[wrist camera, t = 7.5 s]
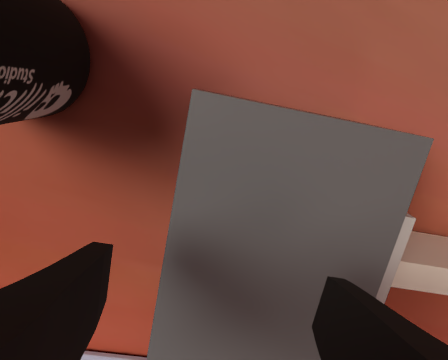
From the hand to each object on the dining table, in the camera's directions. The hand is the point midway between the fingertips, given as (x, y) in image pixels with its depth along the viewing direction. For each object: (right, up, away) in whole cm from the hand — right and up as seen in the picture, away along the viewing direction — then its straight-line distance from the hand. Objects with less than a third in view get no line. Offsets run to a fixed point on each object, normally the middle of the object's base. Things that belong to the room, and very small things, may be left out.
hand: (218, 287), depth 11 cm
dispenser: (+2, +1, +11) cm, 11 cm away
